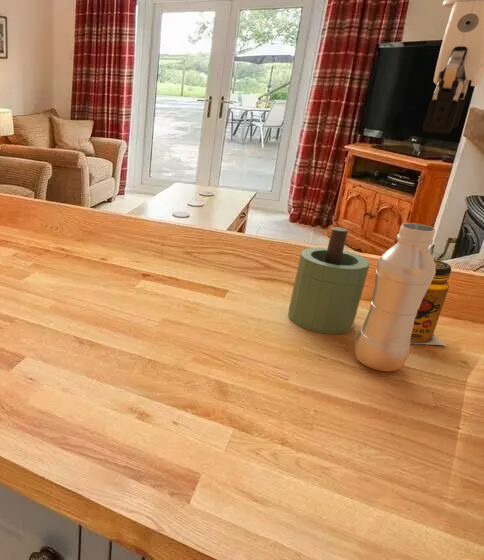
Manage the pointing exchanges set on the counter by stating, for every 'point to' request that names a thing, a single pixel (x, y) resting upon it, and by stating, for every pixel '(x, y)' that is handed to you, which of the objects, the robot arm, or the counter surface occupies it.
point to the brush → (336, 245)
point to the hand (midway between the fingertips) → (439, 129)
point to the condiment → (431, 307)
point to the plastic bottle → (396, 299)
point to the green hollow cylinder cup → (327, 291)
